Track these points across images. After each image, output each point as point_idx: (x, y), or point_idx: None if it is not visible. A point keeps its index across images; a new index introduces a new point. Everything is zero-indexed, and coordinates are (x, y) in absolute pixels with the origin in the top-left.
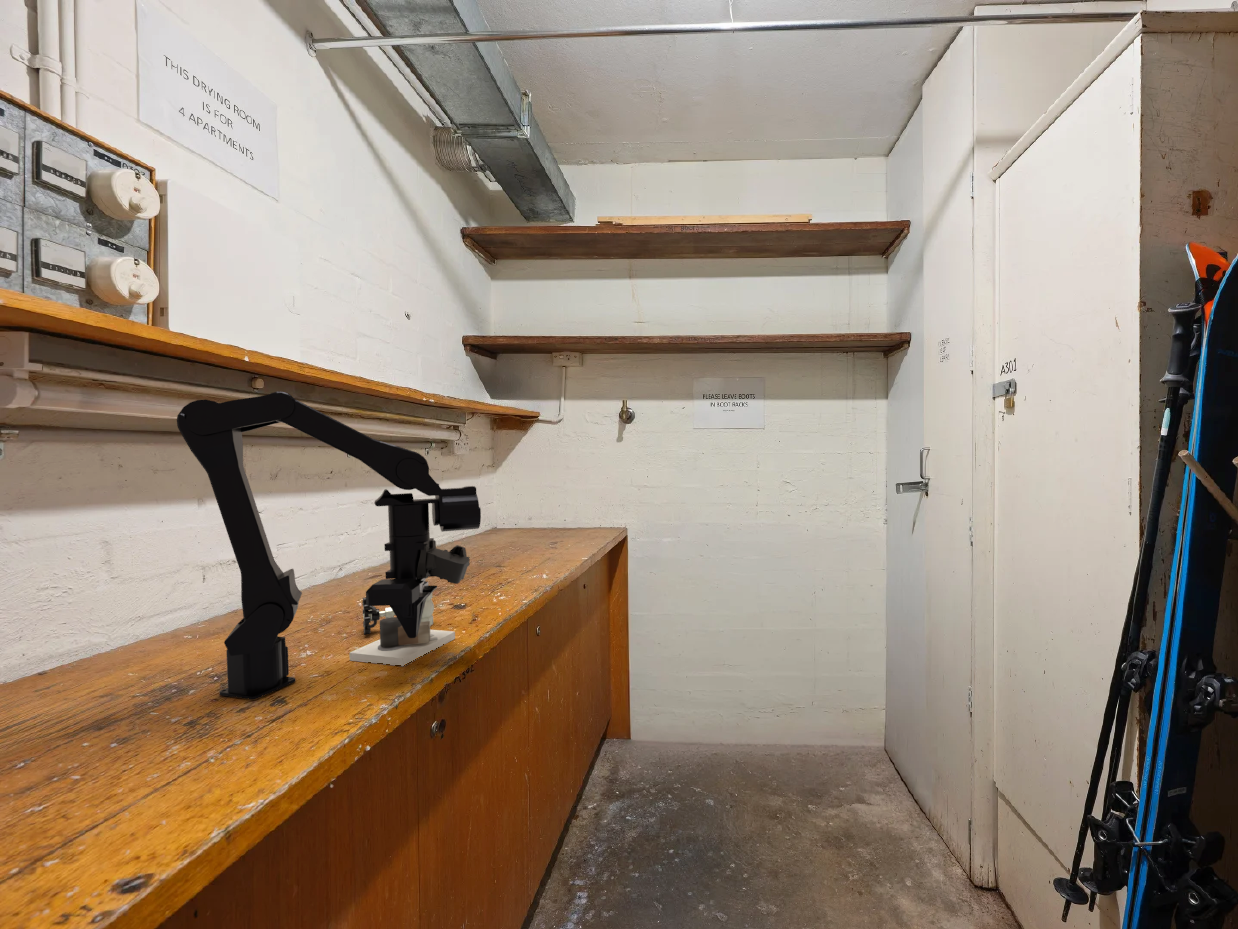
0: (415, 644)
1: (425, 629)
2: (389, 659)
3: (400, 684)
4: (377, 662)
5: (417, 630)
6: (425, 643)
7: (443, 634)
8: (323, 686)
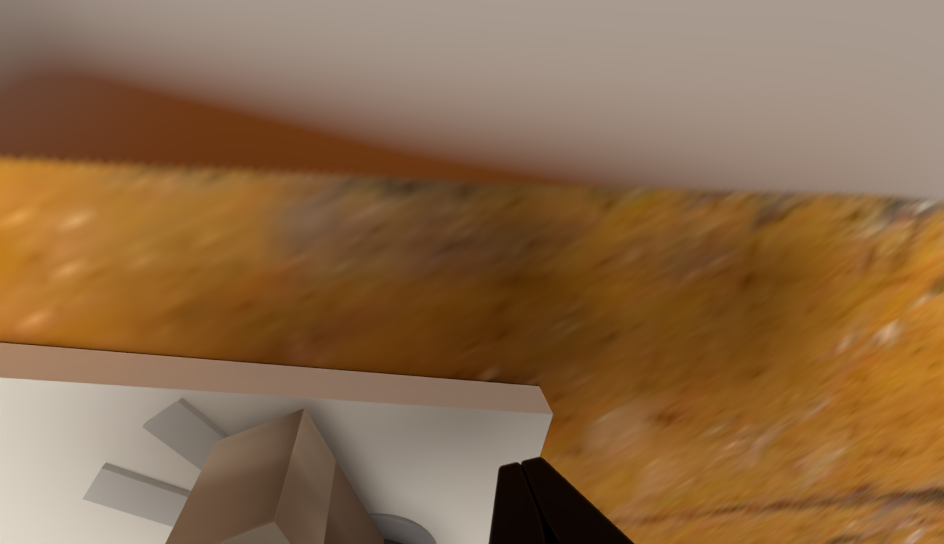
0: None
1: (297, 503)
2: None
3: (761, 277)
4: None
5: (534, 494)
6: None
7: (43, 420)
8: (721, 537)
